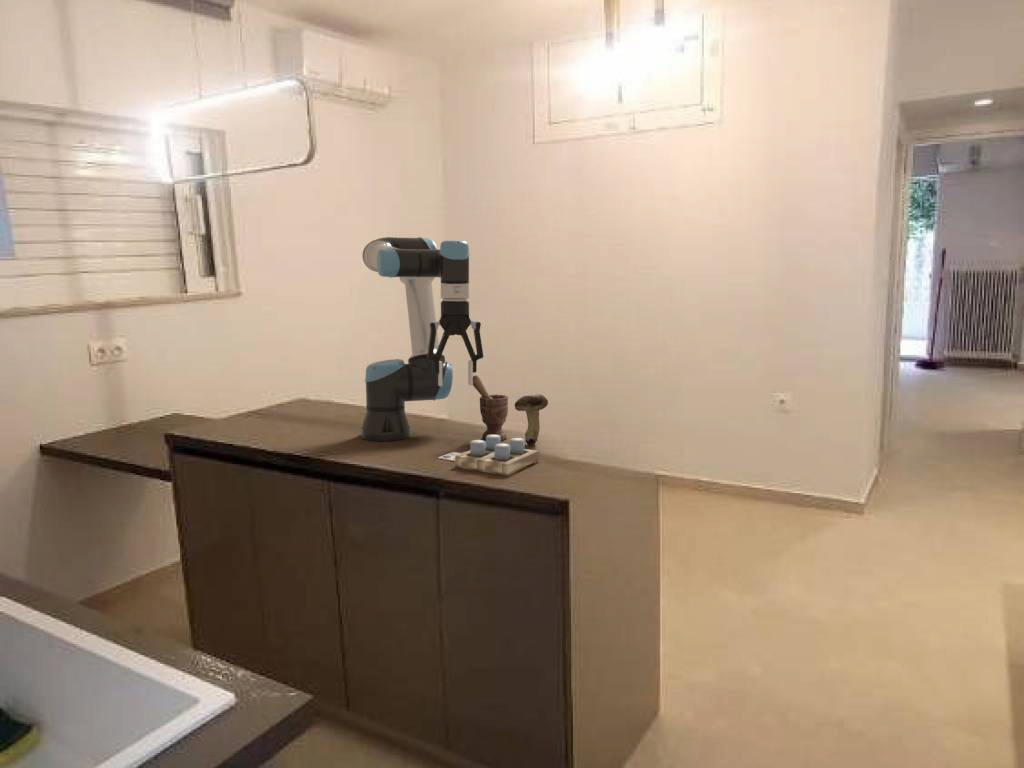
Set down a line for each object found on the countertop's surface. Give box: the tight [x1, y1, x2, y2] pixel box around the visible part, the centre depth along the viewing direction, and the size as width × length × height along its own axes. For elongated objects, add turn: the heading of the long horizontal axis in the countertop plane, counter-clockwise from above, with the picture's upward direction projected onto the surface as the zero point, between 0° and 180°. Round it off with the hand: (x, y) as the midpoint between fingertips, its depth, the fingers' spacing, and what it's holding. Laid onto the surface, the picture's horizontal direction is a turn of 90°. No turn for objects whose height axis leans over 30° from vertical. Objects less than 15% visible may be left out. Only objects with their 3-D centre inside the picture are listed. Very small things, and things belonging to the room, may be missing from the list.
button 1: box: [469, 439, 486, 457], centre depth 188 cm, size 4×4×4 cm
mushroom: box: [514, 393, 549, 446], centre depth 210 cm, size 9×9×15 cm
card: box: [437, 451, 463, 462], centre depth 196 cm, size 7×7×1 cm
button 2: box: [485, 435, 502, 451], centre depth 194 cm, size 4×4×4 cm
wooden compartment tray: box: [454, 448, 540, 477], centre depth 189 cm, size 16×16×3 cm
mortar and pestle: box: [472, 374, 509, 441], centre depth 216 cm, size 12×9×20 cm
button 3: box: [494, 443, 510, 461], centre depth 184 cm, size 4×4×4 cm
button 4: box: [509, 437, 526, 455], centre depth 190 cm, size 4×4×4 cm
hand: (455, 385), depth 193 cm, fingers open, 8 cm apart
